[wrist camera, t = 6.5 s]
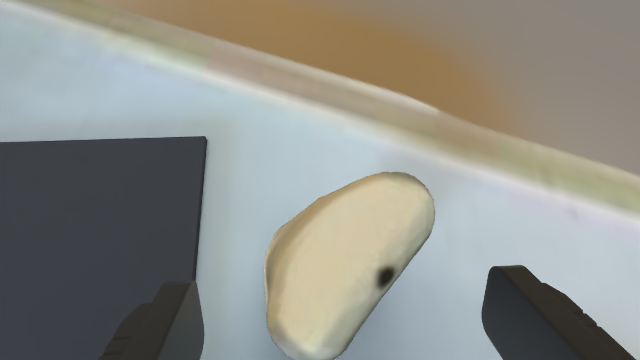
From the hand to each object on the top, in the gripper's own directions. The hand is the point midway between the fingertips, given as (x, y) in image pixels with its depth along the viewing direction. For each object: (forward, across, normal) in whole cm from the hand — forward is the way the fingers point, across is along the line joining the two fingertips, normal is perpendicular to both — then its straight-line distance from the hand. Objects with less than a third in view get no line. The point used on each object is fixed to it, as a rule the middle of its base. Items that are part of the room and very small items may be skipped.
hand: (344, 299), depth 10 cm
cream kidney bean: (+6, 0, +4) cm, 7 cm away
